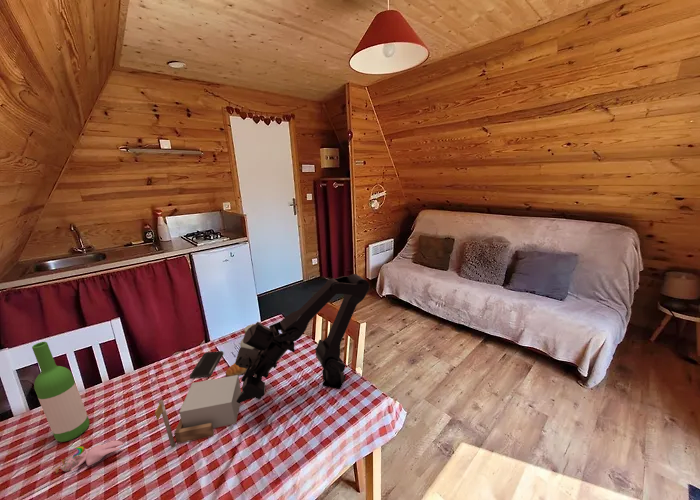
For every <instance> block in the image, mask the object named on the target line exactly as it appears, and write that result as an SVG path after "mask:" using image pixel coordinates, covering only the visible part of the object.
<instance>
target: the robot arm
mask: <svg viewBox="0 0 700 500" xmlns="http://www.w3.org/2000/svg"><path fill="white" fill-rule="evenodd" d="M369 291H370V283H369V282H368V281H367V280H366V279H365V278H363V277H362V276H360V275H359V274H357V273H352V274H350V275H345V276H342V275H341V276H339V277H337V278H336V277H335V278H333V277H332V278H328V279H327V280H326V283H325V284H324V285H323V286H322V287H320V289H319V290H318V291H317V292H316V293H315V294H314V295H313V296H311V297H310V299H309V300H307V302H306V303H304V304H303V305H302V306H301V307H300V308H299V309H297V310H296V311H295V310H294V311H291V312H290V313H289V314H287V315H286V316H285V317H284V318H282V320H280V321H278V322H276V323H273V324H271V325H269V327H267V326H265V325H263V324H262V323H261V322H260V321H257V322H256V323H255V325H252V324H251V325H252V326H251V327H250V328H249V329H248V330H247V331H246V333H245V332H244V336H243V338H242V339H243V343H245V344H247V345H249V346H251V347H254V348H253V349H249V348H244V347H240V348H239V349H238V352H237V356H236V358H235V362H234V363H235V364H236V365H238V366H239V367H241V368H247V369H246V371H245V373H244V374H242V375H243V376H242V378H241V382H242V385H241V386H242V387H241V394H240V396H239V397H238V399H237V402H238V403H240V404H241V403H243V402H247V401H250V400H251V399H254V398H255V399H256V400H261V399H263V397H264V396H265V394H266V387H267V386H266V382H265V381H263V379H262V378H263V377H264V378H266V379H267V378H268V377H269V374H270V372H271V370H272V369H273V368H274V369H276V368H277V366H278V362H279V361H280V359H281V358H282V357H283V356H284V355H285V354H286V352H287V351H288V350H289V351H290V352H293V353H294V352H296V350H295V342H297V341H298V340H299V339H300V338H301V337H302V336H303V335H304V334H305V332H306V330H307V328H308V326H309V323H310V322H311V320H313V319H314V317H315V316H316V315H317V314H318V313H319V312H320V311H322V309H323V308H324V307H325V306H326V305H327V304H328V303H329V302H330V301H332V299H333V298H334V297H335V296H336V295H340V294H341V295H343V299H342V302H341V304H340V307H339V309H338V311H337V314H336V315H335V318H334V320H333V323H332V324H331V328H330V329H329V332H328V335H327V337H326V338H324V339H323V340H322V339H319V340H318V344H317V346H316V347H315V348H314V350H315V356H316V359H317V361H318V362H319V364H320V365H321V367H322V380H323V382H322V387H326V388H327V387H328V388H332V389H337V390H340V389H341V388H342V387H343V384H344V382H345V381H346V377H347V375H345V370H346V364H345V362H344V361H343V360H342V358H341V357H340V356H341V343H342V340H343V339H344V335H345V334H346V332H347V329H348V326H349V325H350V322H351V320H352V317H353V315H354V312H355V310H356V308H357V306H358V304H360V303H361V302H362V301H363V300H364V299H365V298H366V296H367V294H368V292H369ZM280 332H281V333H280Z"/></svg>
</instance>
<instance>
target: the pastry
mask: <svg viewBox="0 0 700 500" xmlns="http://www.w3.org/2000/svg"><path fill="white" fill-rule="evenodd" d="M246 369H247V368H241V367H239V366H238V365H236V364H235V362H234V363H233V364H231V365H230V366H229V367H228V368H227V369H226V370H225V377H229V376H235V375H238V376H242V375H244V373H245V371H246Z"/></svg>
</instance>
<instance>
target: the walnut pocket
mask: <svg viewBox="0 0 700 500" xmlns="http://www.w3.org/2000/svg"><path fill="white" fill-rule="evenodd" d="M154 414H155V418H156V420H157V421H159V419H160V418H161V415H162V419H163V423H164V427H165V429H166V433H167V437H168V440H169V445H170V447H171V449H172V448H174V447H176V444H181V443H186V442H191V441H195V440H201V439H205V438H210V437H211V438H212V437H214V435H215V430H214V428H213V426H212V423H208V424H203V425H198V426H193V427H188V428H183V424H182V420H181V418H179V422H178V424H177V427H176V428H175V431H174V433H173V432H172V427H171V425H170V424H171V423H170V420H169V417H168V415H167V410H166V407H165V403H164V399H160V400H159V401H158V405H157V408H156V410H155V411H154ZM174 437H175V438H174ZM175 442H176V443H175Z"/></svg>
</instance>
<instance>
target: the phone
mask: <svg viewBox="0 0 700 500" xmlns="http://www.w3.org/2000/svg"><path fill="white" fill-rule="evenodd" d="M223 355H224V351H222V350H220V351H218V350H217V351H208V352H204V353H203V355H202V356H201V358H200V359H199V360H198V362H197V363H196V365H195V367H194V369H193V370H192V371H191V373H190V375H189V379H191V380H194V379H202V378H203V379H204V378H209V377H211V376H212V375H213V373H214V372H215V370H216V368H217V366H218V364H219V363H220V361H221V359H222V357H223Z"/></svg>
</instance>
